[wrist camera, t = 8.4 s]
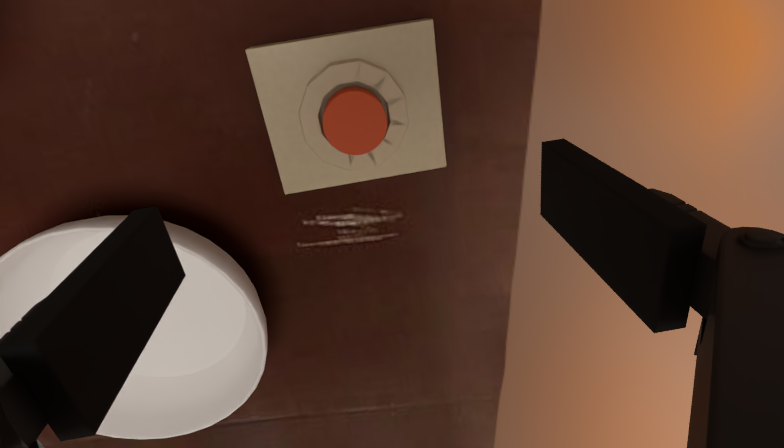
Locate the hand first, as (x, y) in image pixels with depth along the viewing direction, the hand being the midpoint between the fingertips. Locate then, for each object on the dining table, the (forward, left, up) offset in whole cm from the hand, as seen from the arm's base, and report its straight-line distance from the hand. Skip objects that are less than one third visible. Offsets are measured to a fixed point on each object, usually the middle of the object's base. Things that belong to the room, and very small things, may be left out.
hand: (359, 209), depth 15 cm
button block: (0, 0, -19) cm, 19 cm away
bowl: (+19, +13, -19) cm, 30 cm away
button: (0, 0, -15) cm, 15 cm away
